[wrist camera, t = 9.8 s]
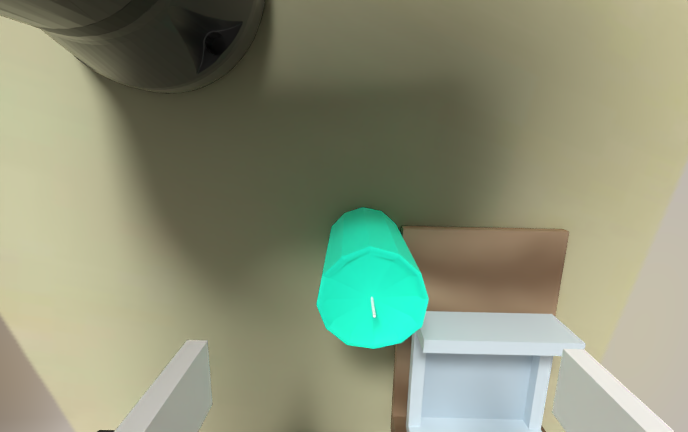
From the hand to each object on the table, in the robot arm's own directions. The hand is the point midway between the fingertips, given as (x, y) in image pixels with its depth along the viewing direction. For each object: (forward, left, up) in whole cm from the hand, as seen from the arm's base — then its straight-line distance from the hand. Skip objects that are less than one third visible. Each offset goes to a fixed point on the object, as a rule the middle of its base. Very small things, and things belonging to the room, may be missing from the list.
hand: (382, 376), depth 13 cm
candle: (0, 0, -16) cm, 16 cm away
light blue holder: (+10, +9, -15) cm, 21 cm away
